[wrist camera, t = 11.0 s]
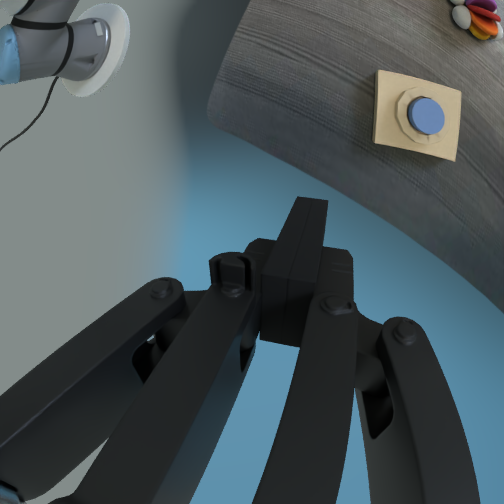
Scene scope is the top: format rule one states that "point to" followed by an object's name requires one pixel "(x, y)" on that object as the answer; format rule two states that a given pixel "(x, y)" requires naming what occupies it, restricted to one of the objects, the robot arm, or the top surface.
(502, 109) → the top surface
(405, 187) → the top surface
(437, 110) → the blue button
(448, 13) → the top surface
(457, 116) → the button housing
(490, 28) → the rainbow petal toy
